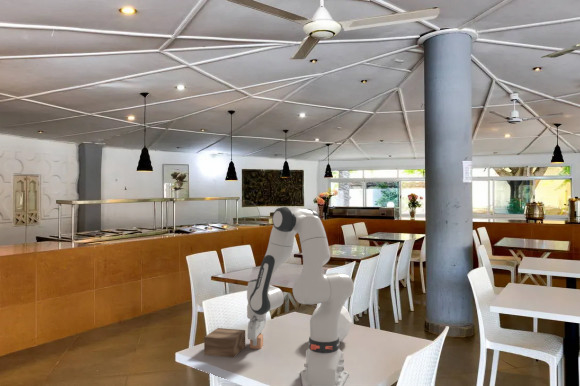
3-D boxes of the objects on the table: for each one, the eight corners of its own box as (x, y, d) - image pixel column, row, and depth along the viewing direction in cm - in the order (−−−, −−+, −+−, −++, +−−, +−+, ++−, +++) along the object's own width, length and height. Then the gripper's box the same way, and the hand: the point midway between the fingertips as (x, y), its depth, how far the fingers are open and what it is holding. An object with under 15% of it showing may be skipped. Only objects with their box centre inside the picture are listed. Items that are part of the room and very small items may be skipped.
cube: (260, 348, 198) (260, 337, 198) (250, 348, 199) (250, 337, 199) (263, 345, 203) (263, 334, 203) (252, 344, 204) (252, 334, 204)
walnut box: (233, 358, 187) (233, 339, 188) (204, 355, 191) (204, 337, 191) (245, 347, 201) (245, 330, 201) (217, 344, 205) (217, 327, 205)
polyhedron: (337, 352, 211) (357, 317, 216) (337, 351, 193) (360, 312, 198) (304, 330, 216) (325, 296, 222) (302, 327, 198) (324, 290, 203)
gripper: (257, 319, 190) (258, 351, 190) (267, 308, 210) (268, 336, 210) (244, 319, 191) (244, 350, 191) (255, 307, 211) (255, 336, 211)
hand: (256, 343), depth 201 cm, fingers closed on cube, 5 cm apart
